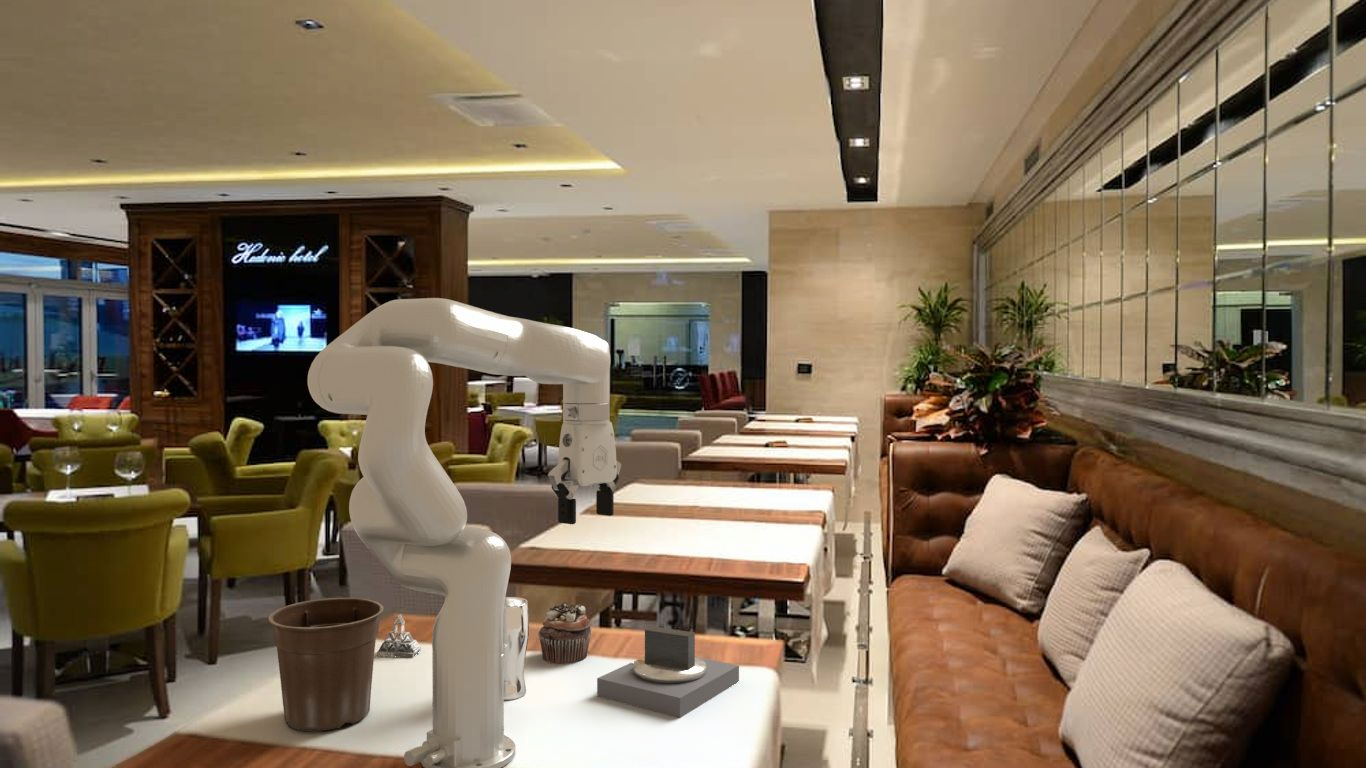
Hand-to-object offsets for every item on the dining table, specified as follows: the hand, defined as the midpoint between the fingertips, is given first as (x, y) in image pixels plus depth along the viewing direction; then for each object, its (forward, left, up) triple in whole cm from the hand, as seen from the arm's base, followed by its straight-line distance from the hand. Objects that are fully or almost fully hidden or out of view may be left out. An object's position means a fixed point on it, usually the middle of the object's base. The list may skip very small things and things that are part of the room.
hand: (586, 519), depth 150 cm
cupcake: (+11, +14, -29) cm, 34 cm away
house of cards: (-2, +41, -29) cm, 50 cm away
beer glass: (-8, +10, -28) cm, 31 cm away
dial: (+8, -11, -25) cm, 29 cm away
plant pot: (-30, +26, -28) cm, 49 cm away
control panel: (+8, -11, -28) cm, 31 cm away
